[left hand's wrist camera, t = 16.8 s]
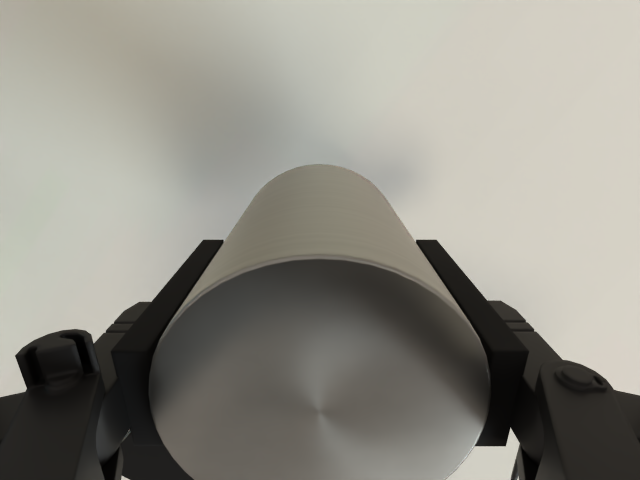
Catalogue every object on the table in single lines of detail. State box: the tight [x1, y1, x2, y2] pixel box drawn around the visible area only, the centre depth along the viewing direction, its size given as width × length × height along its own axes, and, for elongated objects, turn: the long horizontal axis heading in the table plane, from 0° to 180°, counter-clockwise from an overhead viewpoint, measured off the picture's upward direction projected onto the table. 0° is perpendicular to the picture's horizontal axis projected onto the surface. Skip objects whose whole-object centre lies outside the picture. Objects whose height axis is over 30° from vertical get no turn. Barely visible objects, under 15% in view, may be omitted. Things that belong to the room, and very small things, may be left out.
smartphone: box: [120, 432, 194, 480], centre depth 30 cm, size 7×1×15 cm
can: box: [149, 164, 491, 480], centre depth 12 cm, size 7×7×10 cm
